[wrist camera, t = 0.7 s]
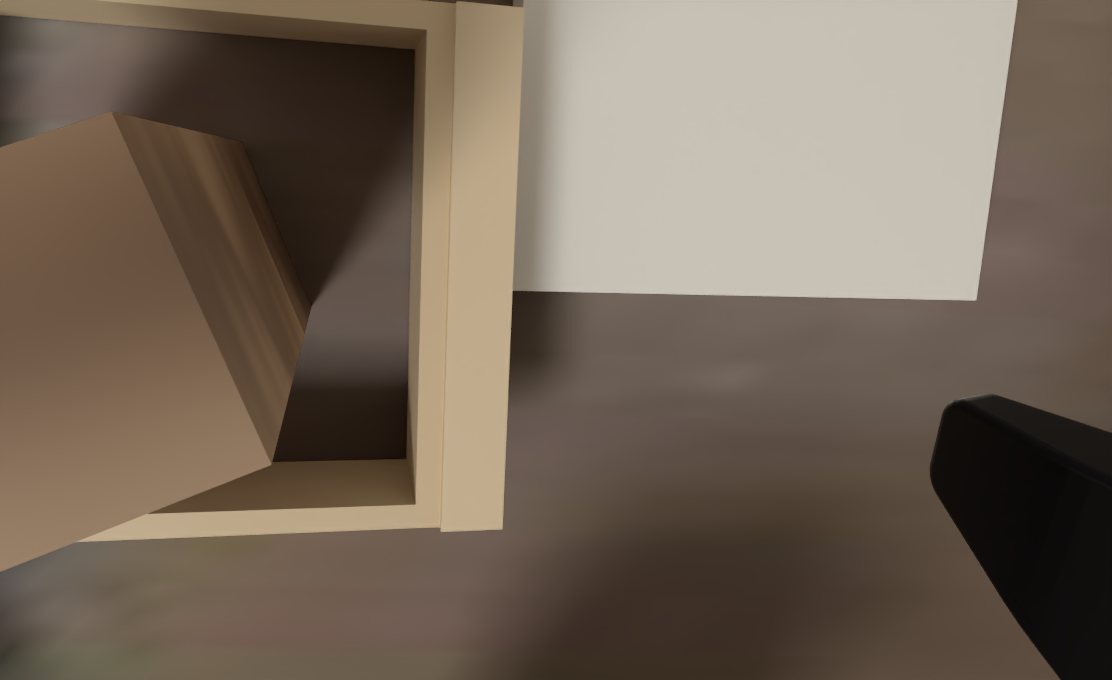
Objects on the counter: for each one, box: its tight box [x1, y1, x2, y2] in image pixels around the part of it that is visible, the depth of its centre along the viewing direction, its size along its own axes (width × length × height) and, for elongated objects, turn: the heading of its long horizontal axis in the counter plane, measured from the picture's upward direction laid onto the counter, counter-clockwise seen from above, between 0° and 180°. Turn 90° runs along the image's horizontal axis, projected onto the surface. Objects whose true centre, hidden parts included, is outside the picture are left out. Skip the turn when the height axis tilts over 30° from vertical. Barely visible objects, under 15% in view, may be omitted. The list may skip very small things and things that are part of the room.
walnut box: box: [0, 111, 311, 572], centre depth 16 cm, size 4×4×13 cm
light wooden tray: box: [0, 0, 524, 542], centre depth 21 cm, size 12×15×4 cm
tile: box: [513, 0, 1018, 300], centre depth 25 cm, size 10×14×2 cm
